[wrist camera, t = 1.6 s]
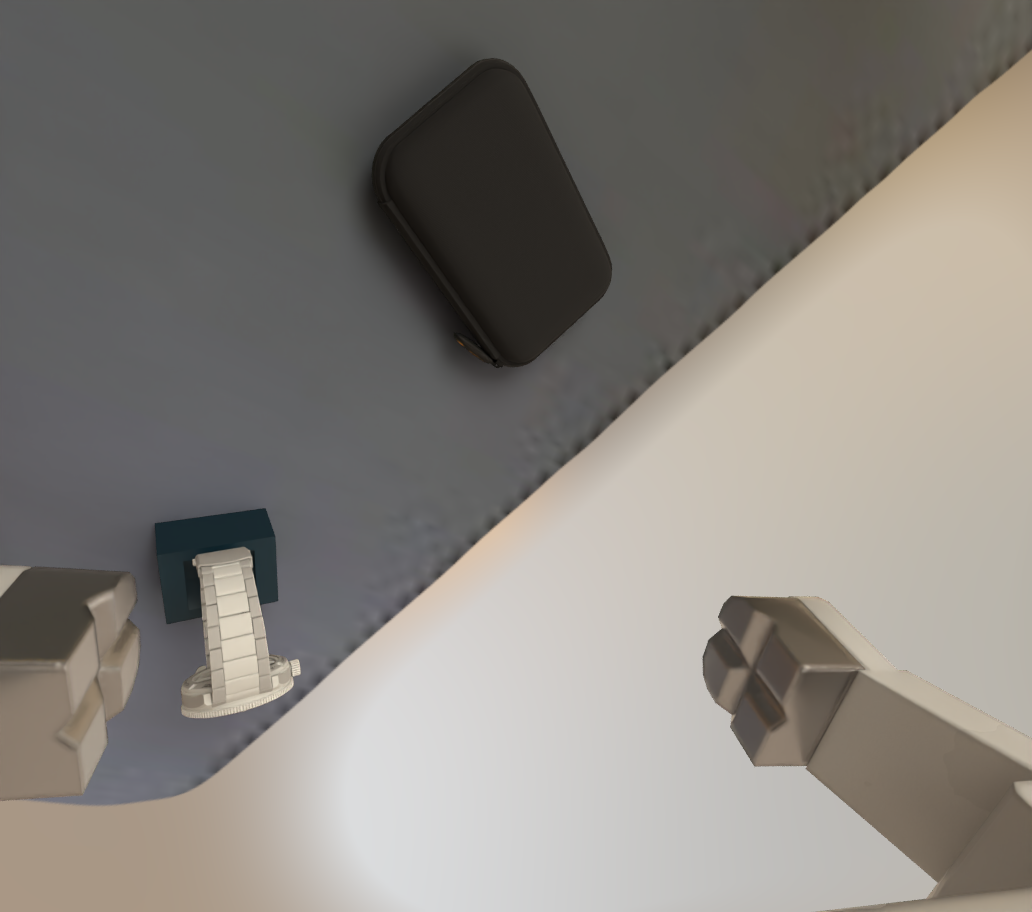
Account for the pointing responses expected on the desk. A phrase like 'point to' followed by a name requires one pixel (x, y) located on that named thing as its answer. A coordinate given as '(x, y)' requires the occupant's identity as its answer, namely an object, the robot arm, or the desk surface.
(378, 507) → the desk surface
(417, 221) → the carrying case
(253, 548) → the watch
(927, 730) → the robot arm
